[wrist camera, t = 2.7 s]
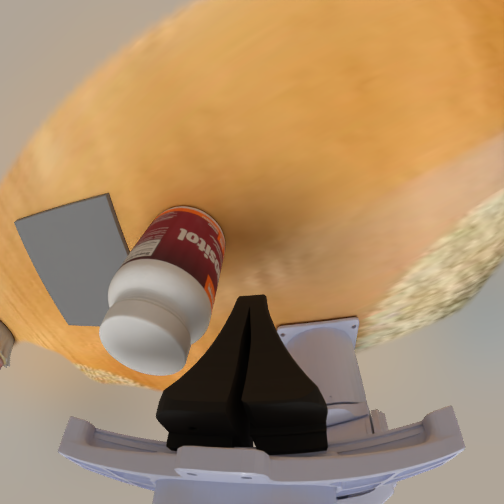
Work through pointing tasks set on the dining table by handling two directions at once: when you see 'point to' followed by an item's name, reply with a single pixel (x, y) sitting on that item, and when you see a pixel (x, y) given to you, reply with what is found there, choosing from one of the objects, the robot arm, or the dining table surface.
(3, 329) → the cupcake
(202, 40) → the dining table surface
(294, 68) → the dining table surface
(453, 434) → the robot arm
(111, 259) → the mat
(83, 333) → the dining table surface
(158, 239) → the pill bottle
